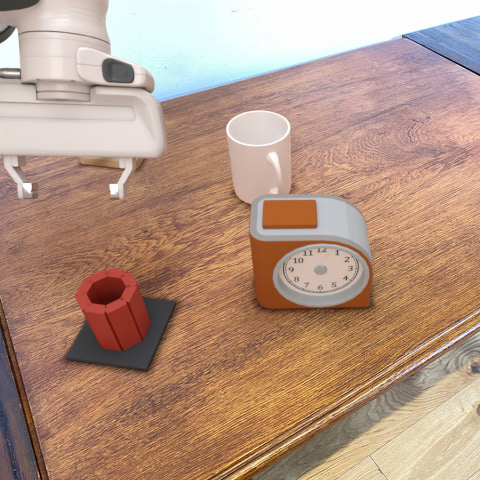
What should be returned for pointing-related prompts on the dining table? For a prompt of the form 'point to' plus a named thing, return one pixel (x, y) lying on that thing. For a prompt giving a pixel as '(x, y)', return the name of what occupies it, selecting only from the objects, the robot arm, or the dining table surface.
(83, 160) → the ring stand
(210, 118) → the dining table surface
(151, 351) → the mat
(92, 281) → the ring sleeve
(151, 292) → the dining table surface
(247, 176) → the mug
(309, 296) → the alarm clock
